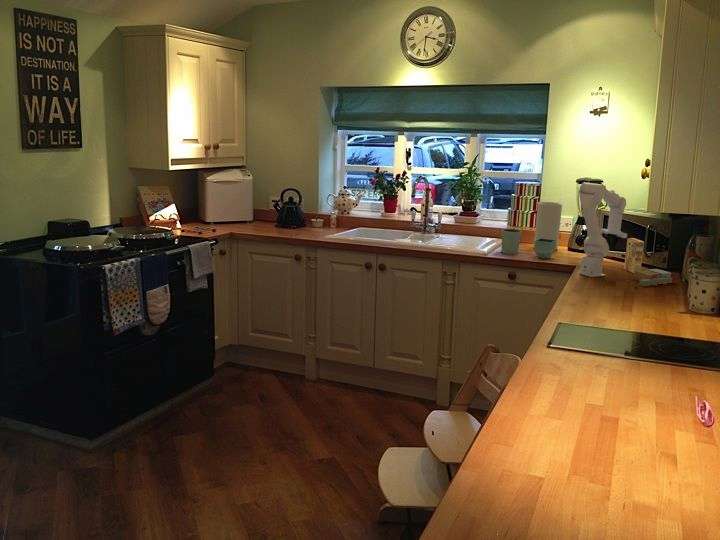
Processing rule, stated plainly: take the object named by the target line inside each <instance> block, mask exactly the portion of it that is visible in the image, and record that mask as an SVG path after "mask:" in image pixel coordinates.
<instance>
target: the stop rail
mask: <svg viewBox="0 0 720 540" xmlns="http://www.w3.org/2000/svg"><path fill="white" fill-rule="evenodd" d="M673 279H674V278H673V277H671V278H670V277H662V278H652V279H642V280H639V282H638V286H640V285H641V286H640V287H643V286H644V287H650V286H649V285H654V286H658V285H657V284H663V285H668V284H667V283H673Z"/></svg>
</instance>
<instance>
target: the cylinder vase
mask: <svg viewBox="0 0 720 540" xmlns="http://www.w3.org/2000/svg"><path fill="white" fill-rule="evenodd" d="M536 211H537V213H536V219H535V220H536V221H535V232H534V240H533V248H534V249H535V240H537V239H539V238H541V239H550V240H556V245H555V249H554V252H555V251H557V250H558V245H559V237H560V229H561V220H562V219H561V218H562V211H563V203H560V202H553V201H538V203H537V210H536Z"/></svg>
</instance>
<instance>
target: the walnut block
mask: <svg viewBox="0 0 720 540" xmlns="http://www.w3.org/2000/svg"><path fill="white" fill-rule="evenodd" d="M658 276H659V274H657V273H653V272H650V271H647V269H646V270H645V269H641V270H639V271H635V273H633V281H635V282H638V281H639V280H642V279H652V278H658Z"/></svg>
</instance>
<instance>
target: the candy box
mask: <svg viewBox="0 0 720 540" xmlns="http://www.w3.org/2000/svg"><path fill="white" fill-rule="evenodd" d="M644 247H645V241H643V240H640V239H638V238H634V237H629V238H627V241H626V250H625V258H624V265H623V266H624V267H623V270H624V271H626V272H627V271H628V272H630V273H632V274H635V271H639V270H642V263H643V258H644V257H643V255H644Z"/></svg>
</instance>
